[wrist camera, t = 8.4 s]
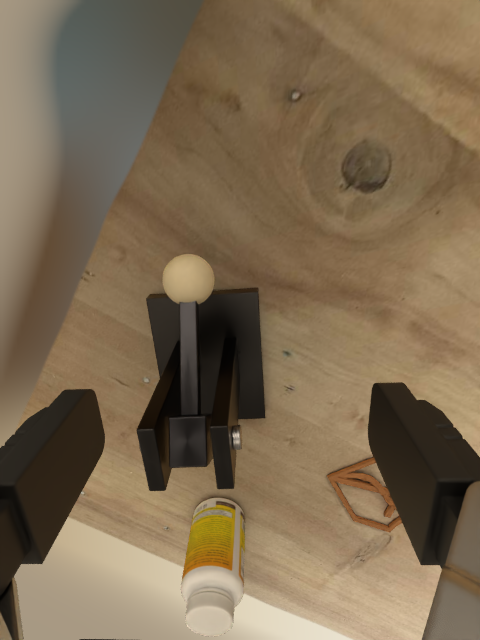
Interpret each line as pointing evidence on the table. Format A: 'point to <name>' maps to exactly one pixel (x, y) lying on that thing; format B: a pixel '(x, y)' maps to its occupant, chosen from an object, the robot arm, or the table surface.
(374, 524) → the emblem
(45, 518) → the robot arm
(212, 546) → the supplement bottle
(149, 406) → the bracket
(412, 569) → the table surface
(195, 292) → the lever
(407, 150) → the table surface
